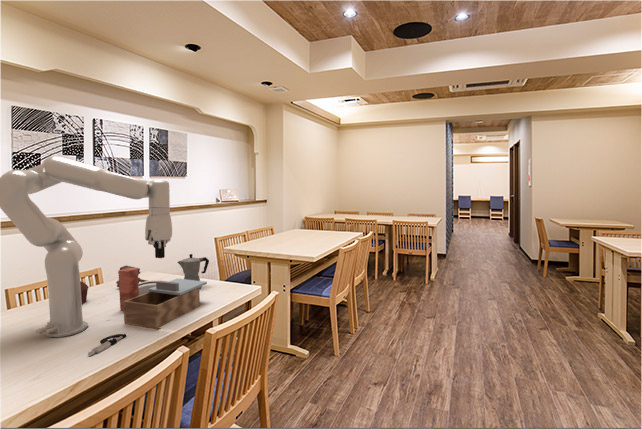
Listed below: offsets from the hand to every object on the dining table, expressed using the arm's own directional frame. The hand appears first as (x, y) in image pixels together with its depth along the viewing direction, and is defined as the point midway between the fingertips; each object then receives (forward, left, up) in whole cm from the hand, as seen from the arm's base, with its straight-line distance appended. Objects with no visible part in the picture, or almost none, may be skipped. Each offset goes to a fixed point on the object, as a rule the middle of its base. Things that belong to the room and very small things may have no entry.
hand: (159, 257), depth 142 cm
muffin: (0, +49, -24) cm, 54 cm away
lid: (+10, 0, -15) cm, 18 cm away
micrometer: (-27, 0, -25) cm, 36 cm away
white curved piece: (+16, +20, -25) cm, 36 cm away
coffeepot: (+36, +13, -24) cm, 45 cm away
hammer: (+29, +34, -25) cm, 51 cm away
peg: (0, +17, -24) cm, 29 cm away
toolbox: (+1, 0, -24) cm, 24 cm away
